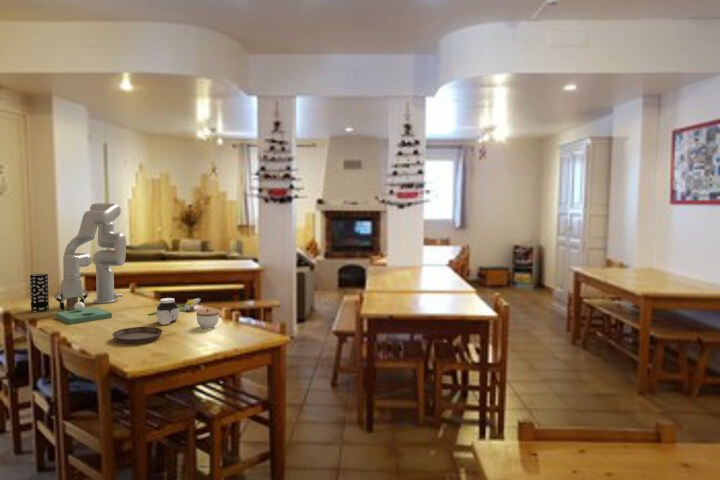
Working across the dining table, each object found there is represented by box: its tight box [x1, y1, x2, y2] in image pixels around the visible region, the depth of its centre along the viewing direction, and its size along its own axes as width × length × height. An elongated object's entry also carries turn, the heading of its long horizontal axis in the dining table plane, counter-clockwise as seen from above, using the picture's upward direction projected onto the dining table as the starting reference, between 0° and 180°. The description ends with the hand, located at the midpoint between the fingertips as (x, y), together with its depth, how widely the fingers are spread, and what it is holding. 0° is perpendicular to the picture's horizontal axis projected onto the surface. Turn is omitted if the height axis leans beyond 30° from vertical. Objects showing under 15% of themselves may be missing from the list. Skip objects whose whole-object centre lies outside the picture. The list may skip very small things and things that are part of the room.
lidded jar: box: [195, 308, 220, 329], centre depth 243 cm, size 11×11×9 cm
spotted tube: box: [29, 273, 50, 313], centre depth 273 cm, size 8×8×20 cm
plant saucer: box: [111, 326, 164, 345], centre depth 221 cm, size 21×21×3 cm
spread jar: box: [156, 297, 179, 326], centre depth 251 cm, size 12×11×12 cm
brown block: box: [65, 297, 79, 312], centre depth 268 cm, size 4×5×9 cm
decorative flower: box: [147, 297, 201, 316], centre depth 275 cm, size 13×5×30 cm
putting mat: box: [55, 307, 113, 325], centre depth 258 cm, size 20×20×2 cm
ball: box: [74, 301, 86, 311], centre depth 262 cm, size 5×5×5 cm
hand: (72, 308), depth 268 cm, fingers open, 9 cm apart
